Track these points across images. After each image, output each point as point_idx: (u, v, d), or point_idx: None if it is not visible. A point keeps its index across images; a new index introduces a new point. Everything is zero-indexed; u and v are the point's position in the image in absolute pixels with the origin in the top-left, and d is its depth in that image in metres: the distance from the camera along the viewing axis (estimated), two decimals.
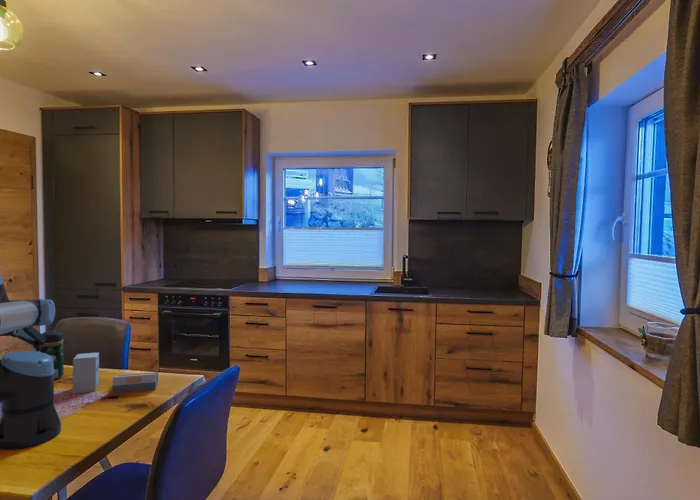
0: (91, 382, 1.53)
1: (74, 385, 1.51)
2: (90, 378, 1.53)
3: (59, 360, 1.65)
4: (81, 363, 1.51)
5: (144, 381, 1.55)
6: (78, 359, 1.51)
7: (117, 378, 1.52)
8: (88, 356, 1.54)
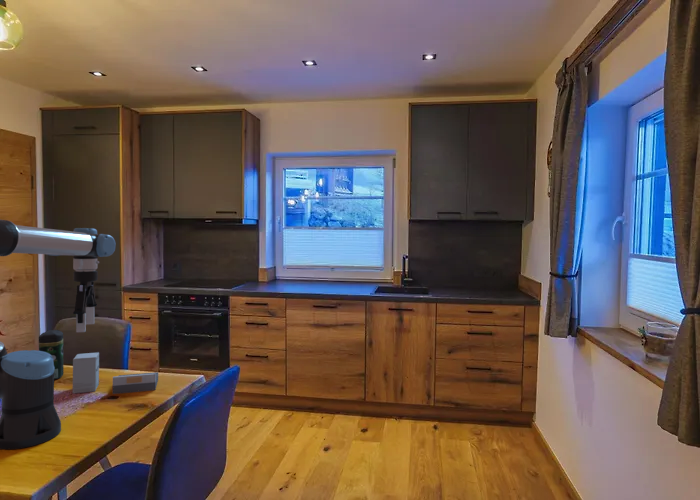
0: (91, 382, 1.53)
1: (74, 385, 1.51)
2: (90, 378, 1.53)
3: (59, 360, 1.65)
4: (81, 363, 1.51)
5: (144, 381, 1.55)
6: (78, 359, 1.51)
7: (117, 378, 1.52)
8: (88, 356, 1.54)
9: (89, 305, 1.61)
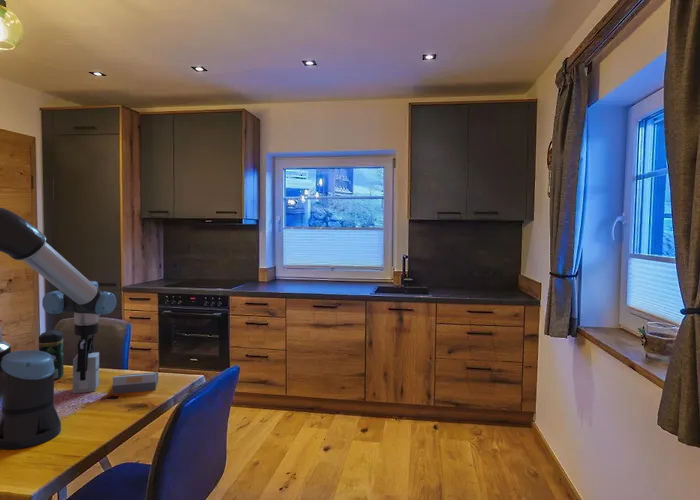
0: (91, 382, 1.53)
1: (74, 385, 1.51)
2: (90, 378, 1.53)
3: (59, 360, 1.65)
4: None
5: (144, 381, 1.55)
6: None
7: (117, 378, 1.52)
8: (88, 356, 1.54)
9: None
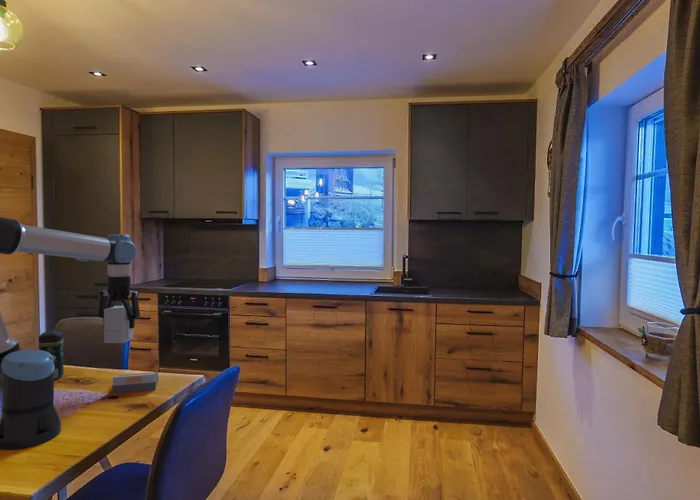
0: None
1: (124, 335, 1.54)
2: None
3: (59, 360, 1.65)
4: None
5: (144, 381, 1.55)
6: (125, 309, 1.55)
7: (117, 378, 1.52)
8: None
9: None
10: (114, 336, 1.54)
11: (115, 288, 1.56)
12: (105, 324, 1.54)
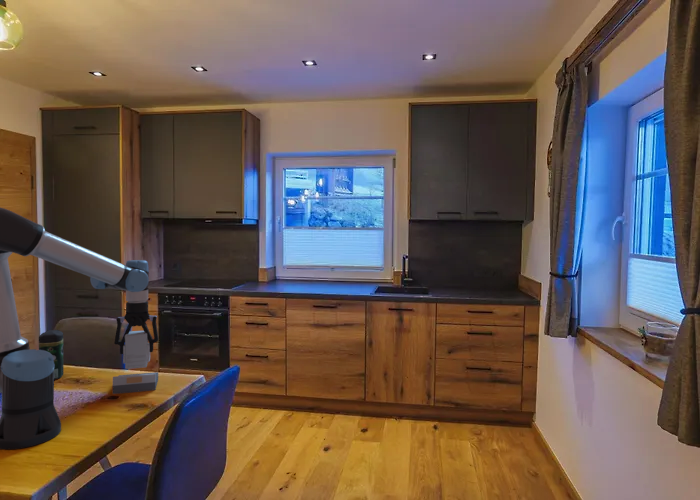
0: None
1: (146, 359, 1.58)
2: None
3: (59, 360, 1.65)
4: None
5: (144, 381, 1.55)
6: (146, 334, 1.58)
7: (117, 378, 1.52)
8: (142, 331, 1.60)
9: (123, 343, 1.57)
10: (137, 361, 1.56)
11: (134, 314, 1.57)
12: (127, 350, 1.55)
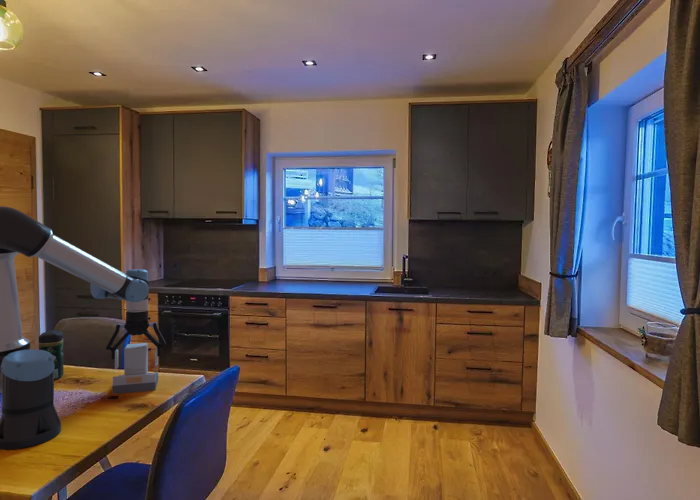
0: (147, 367, 1.62)
1: (146, 372, 1.58)
2: (147, 363, 1.62)
3: (59, 360, 1.65)
4: (146, 350, 1.59)
5: (144, 381, 1.55)
6: (146, 347, 1.58)
7: (117, 378, 1.52)
8: (142, 344, 1.60)
9: None
10: (136, 374, 1.56)
11: (135, 325, 1.57)
12: (126, 364, 1.55)
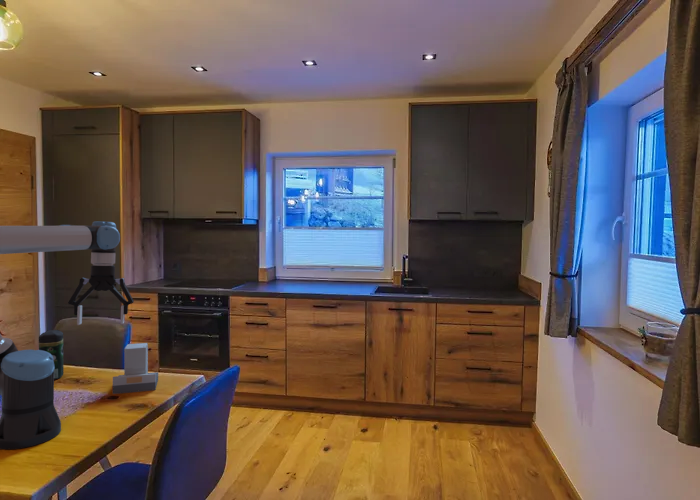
0: (147, 367, 1.62)
1: (146, 372, 1.58)
2: (147, 363, 1.62)
3: (59, 360, 1.65)
4: (146, 350, 1.59)
5: (144, 381, 1.55)
6: (146, 347, 1.58)
7: (117, 378, 1.52)
8: (142, 344, 1.60)
9: (78, 304, 1.48)
10: (136, 374, 1.56)
11: (100, 280, 1.50)
12: (126, 364, 1.55)
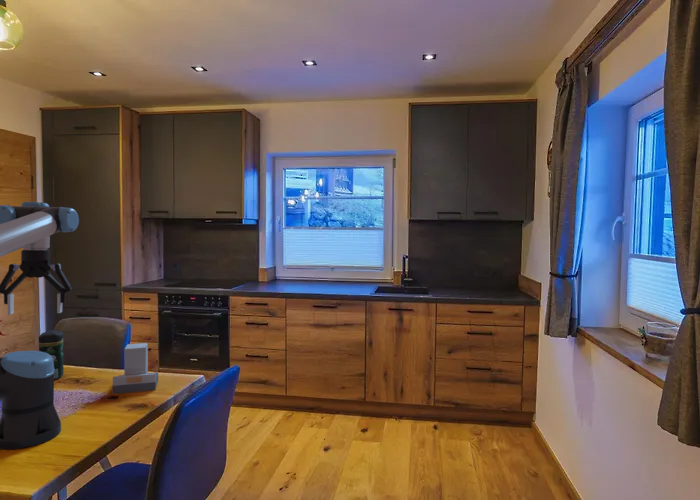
0: (147, 367, 1.62)
1: (146, 372, 1.58)
2: (147, 363, 1.62)
3: (59, 360, 1.65)
4: (146, 350, 1.59)
5: (144, 381, 1.55)
6: (146, 347, 1.58)
7: (117, 378, 1.52)
8: (142, 344, 1.60)
9: (8, 292, 1.36)
10: (136, 374, 1.56)
11: (32, 266, 1.38)
12: (126, 364, 1.55)
